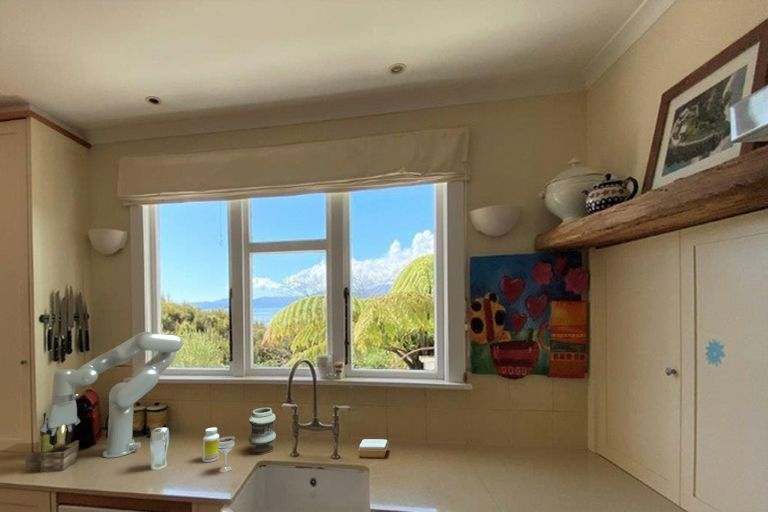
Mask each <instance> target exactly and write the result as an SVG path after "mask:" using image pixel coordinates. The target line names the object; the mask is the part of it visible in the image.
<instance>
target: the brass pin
mask: <svg viewBox="0 0 768 512" xmlns="http://www.w3.org/2000/svg"><path fill="white" fill-rule="evenodd" d="M66 431H67V425H62V426H60V427H57V428H56V432H55V435H56V444H55V445H53V452H63V451H65V446H66V443H67V442H66Z"/></svg>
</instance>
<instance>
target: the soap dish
mask: <svg viewBox="0 0 768 512" xmlns="http://www.w3.org/2000/svg"><path fill="white" fill-rule="evenodd" d="M389 443H390V442H389V441H388V440H387V439H382V438H381V439H380V438H378V439H377V438H375V439H374V438H373V439H371V438H370V439H369V438H365V439H362V441H361V442H360V444H359V447H358V449H357V451H358V453H359V455H360V458H382V459H383V458H385V456H386V453H387V450H388V447H389Z"/></svg>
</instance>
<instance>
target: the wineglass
mask: <svg viewBox="0 0 768 512" xmlns="http://www.w3.org/2000/svg"><path fill="white" fill-rule="evenodd" d="M235 439H236V437H235V436H233V435H229V436H227V435H226V436H222V437H219V439H218V445H217V447H218V450H219V452H221V453H223V454H224V465H225V466H224V467H221V468H219V470H218V471H219V472H220V473H227V472H229V471H231V470H232V469H233V468H232V467H231V466H227V459H228V453H229V452H230V451H232V450H233V449H234V448H235V445H236V442H235Z"/></svg>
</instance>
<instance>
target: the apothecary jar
mask: <svg viewBox="0 0 768 512" xmlns="http://www.w3.org/2000/svg"><path fill="white" fill-rule="evenodd" d="M276 418H277V417H276V414H275V413H273V409H272V408H271V407H261V408H259V407H258V408H256V409H254V410H252V415H251V416H250V417H249V419H248V421H249V424H250V425H251V434H249V437H248V442H249V443H250V444H251V445H253V446H254V447H253V448H251V450H250V452H251V454H253V455H257V454H258V455H263V454H267V453H270V452H272V451H273V450H274V447H273V446H272V445H270V444H271V443H273V442H274V441H275V439H276V437H277V434H276V432H275V431H274V422H275V420H276Z"/></svg>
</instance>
